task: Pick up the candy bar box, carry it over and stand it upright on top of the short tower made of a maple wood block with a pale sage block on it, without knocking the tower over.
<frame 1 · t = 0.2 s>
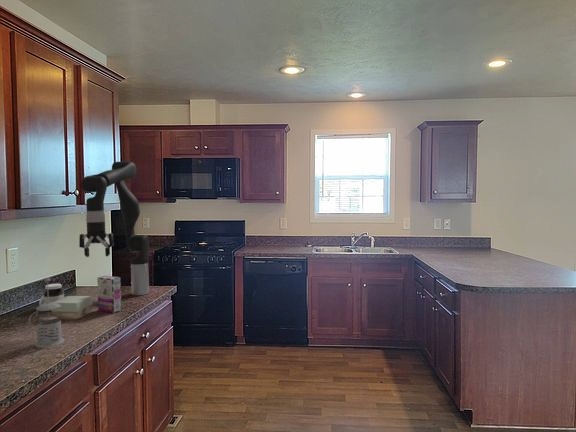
hand: (97, 256, 182), 28 cm above the worktop, tool pointing down, fingers open, 8 cm apart
spread jar: (51, 308, 199), on the worktop
sage block: (72, 307, 186), point 4 cm above the worktop, touching maple block
candy bar box: (110, 311, 194), on the worktop
maple block: (72, 316, 187), on the worktop, touching sage block
french press: (47, 343, 152), on the worktop
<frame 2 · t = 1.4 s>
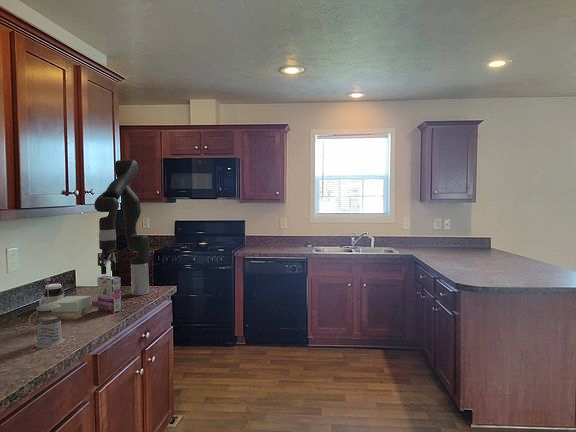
hand: (108, 272, 192), 19 cm above the worktop, tool pointing down, fingers open, 8 cm apart
nothing on the worktop moved.
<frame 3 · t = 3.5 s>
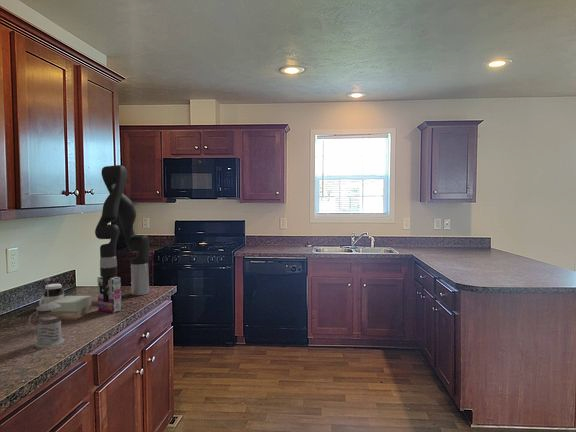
hand: (109, 300, 193), 5 cm above the worktop, tool pointing down, fingers closed on candy bar box, 6 cm apart
candy bar box: (110, 311, 194), on the worktop, touching gripper
everything else where it was.
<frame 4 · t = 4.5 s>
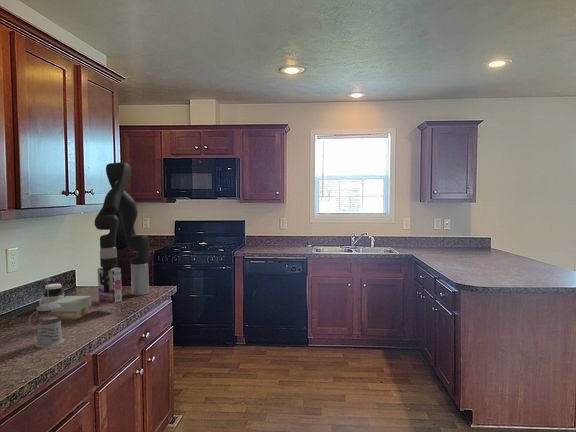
hand: (110, 290, 193), 10 cm above the worktop, tool pointing down, fingers closed on candy bar box, 6 cm apart
candy bar box: (110, 301, 194), point 4 cm above the worktop, touching gripper
everything else where it was.
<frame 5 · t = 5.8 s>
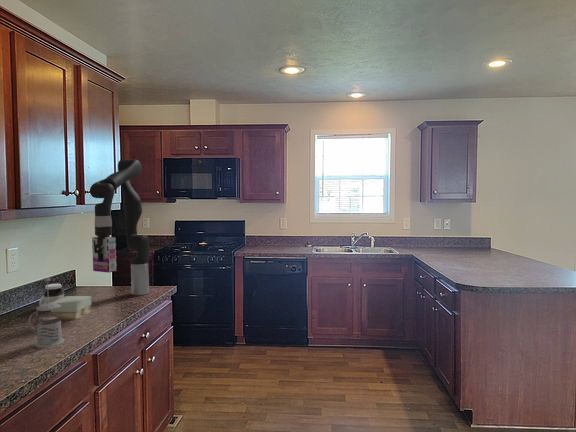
hand: (104, 260, 191), 25 cm above the worktop, tool pointing down, fingers closed on candy bar box, 6 cm apart
candy bar box: (105, 271, 192), point 19 cm above the worktop, touching gripper
everything else where it was.
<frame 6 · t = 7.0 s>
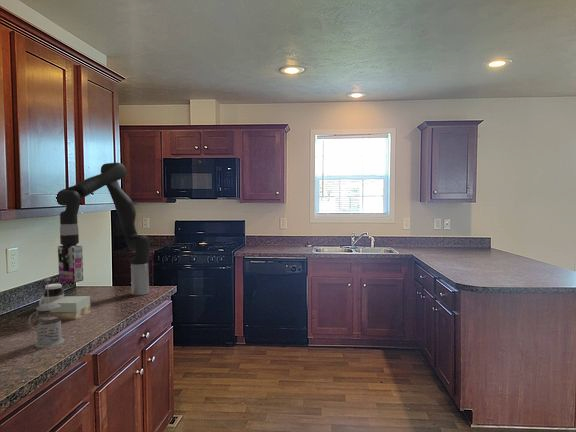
hand: (70, 269, 186), 21 cm above the worktop, tool pointing down, fingers closed on candy bar box, 6 cm apart
candy bar box: (71, 281, 186), point 16 cm above the worktop, touching gripper
everything else where it was.
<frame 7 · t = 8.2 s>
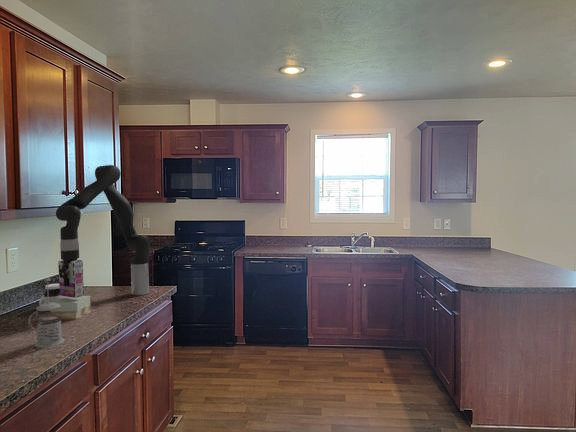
hand: (71, 284, 186), 14 cm above the worktop, tool pointing down, fingers closed on candy bar box, 6 cm apart
candy bar box: (72, 295, 186), point 9 cm above the worktop, touching gripper
everything else where it was.
when the fingers open (14 cm above the worktop, at t = 8.8 s): candy bar box drops 1 cm, point 8 cm above the worktop.
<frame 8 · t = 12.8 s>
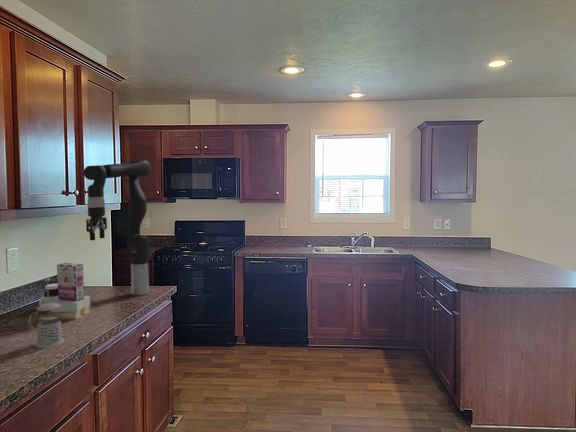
hand: (97, 239, 197), 34 cm above the worktop, tool pointing down, fingers open, 8 cm apart
candy bar box: (71, 299, 186), point 8 cm above the worktop
everything else where it was.
at the end: candy bar box inside the target area on the sage block (0.4 cm from its centre), point 3.9 cm above the sage block's base; candy bar box tilted 2°; sage block 0.2 cm off-centre on the maple block, point 4.0 cm above the maple block's base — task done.
